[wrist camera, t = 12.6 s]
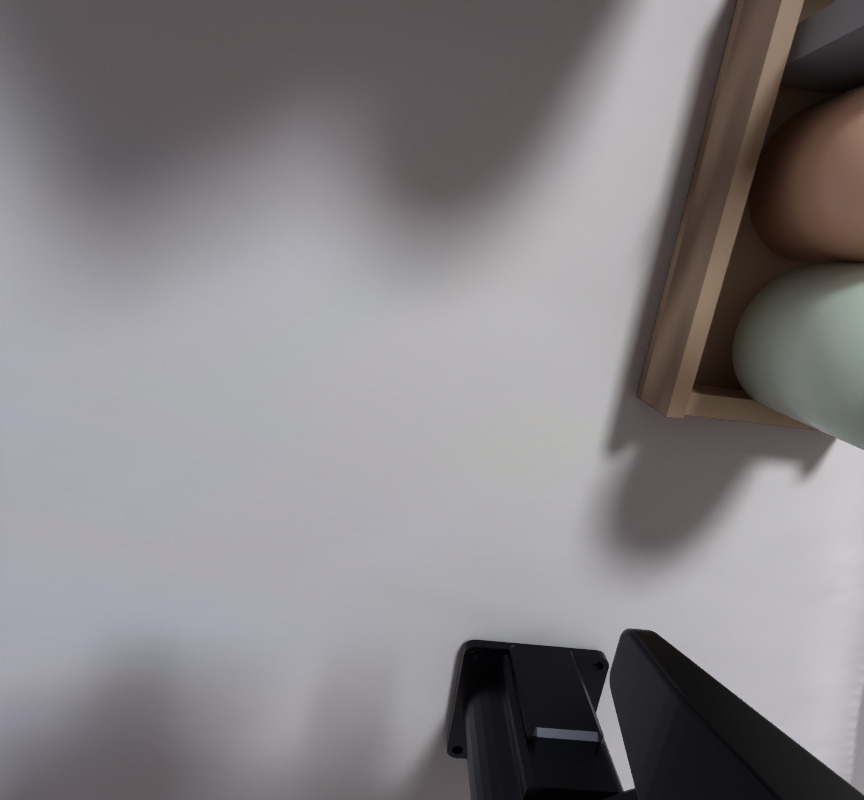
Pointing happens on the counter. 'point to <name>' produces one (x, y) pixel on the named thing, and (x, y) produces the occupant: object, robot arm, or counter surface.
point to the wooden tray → (726, 226)
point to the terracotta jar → (814, 183)
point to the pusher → (828, 49)
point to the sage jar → (808, 348)
